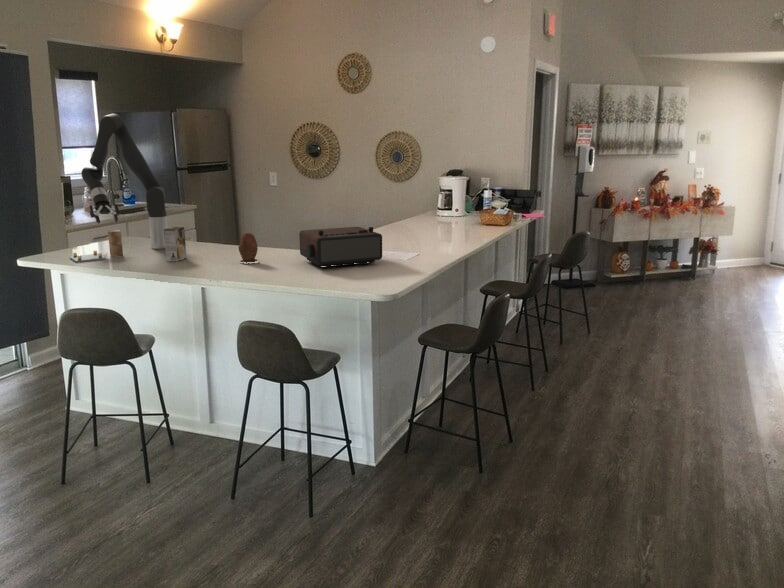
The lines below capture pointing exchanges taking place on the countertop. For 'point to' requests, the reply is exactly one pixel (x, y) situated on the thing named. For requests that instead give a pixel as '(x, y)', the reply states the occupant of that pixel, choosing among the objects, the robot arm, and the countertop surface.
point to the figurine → (248, 248)
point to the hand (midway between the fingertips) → (107, 221)
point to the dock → (87, 257)
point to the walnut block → (115, 243)
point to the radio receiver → (340, 245)
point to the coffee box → (175, 243)
